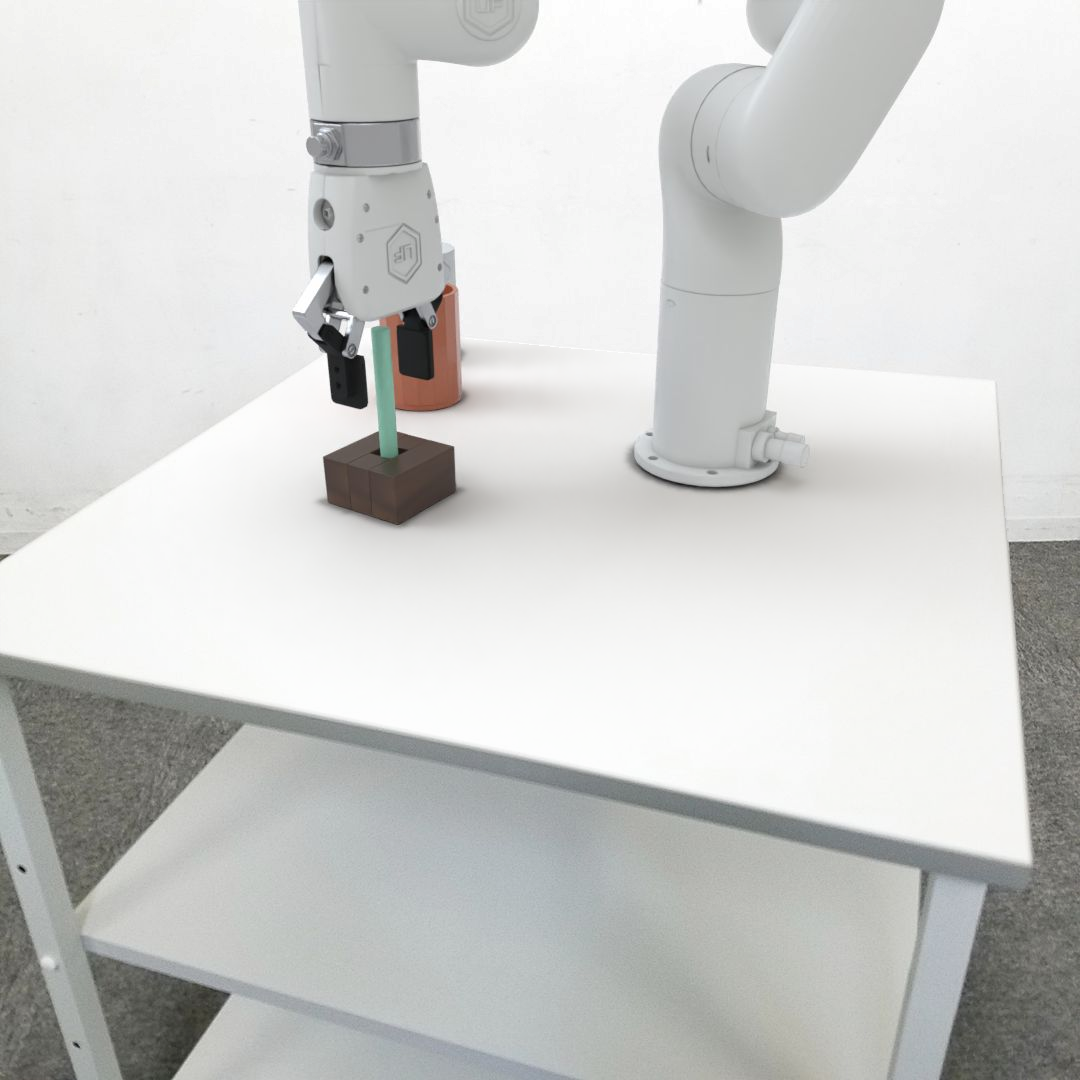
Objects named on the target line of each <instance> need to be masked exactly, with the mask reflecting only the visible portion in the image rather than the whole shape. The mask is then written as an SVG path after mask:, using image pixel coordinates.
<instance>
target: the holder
mask: <svg viewBox="0 0 1080 1080" xmlns="http://www.w3.org/2000/svg"><path fill="white" fill-rule="evenodd" d="M397 442H398V456H396V457H394V458H392V459H389V458H385V457H382V456H381V453H380V440H379V430H378V431H375V432H373V433H371V434H369V435H366V436H364V437H362V438H360V439H357V440H355V441H353V442H352V443H349V444H347V445H345V446H343V447H340V448H339V449H336V450H334V451H332V452H330V453H327V454H326V455H323V456H322V463H323V473H324V480H325V482H324V483H325V490H326V501H327V503H329V504H332V505H335V506H339V507H342V508H345V509H348V510H351V511H354V512H357V513H360V514H363V515H366V516H370V517H373V518H376V519H379V520H381V521H385V522H388V523H391V524H395V525H400V524H402V523H403V522H405V521H407V520H410V518H412V517H414V516H415V515H417V514H419V513H421V512H423V511H424V510H426V509H427V508H429V507H431V506H433V505H435V504H436V503H438V502H440V501H442V500H443V499H445V498H447V497H448V496H450V495H452V494H454V493H456V492H457V479H456V477H457V476H456V458H455V456H456V455H455V454H456V453H455V446H454V445H452V444H451V445H450V444H447V443H443V442H439V441H435V440H431V439H426V438H423V437H419V436H417V435H416V436H415V435H412V434H408V433H405V432H402V431H401V432H400V431H397Z"/></svg>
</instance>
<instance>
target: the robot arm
mask: <svg viewBox="0 0 1080 1080" xmlns="http://www.w3.org/2000/svg"><path fill="white" fill-rule="evenodd" d="M297 4H298V17H299V26H300V35H301V46H302V57H303V66H304V78H305V88H306V89H305V90H306V99H307V104H308V108H307V109H308V118H309V129H310V130H309V131H310V136H308V137H307V139H306V142H305V147H306V151H307V153H308V154H309V155H310V156H311V157H312V161H313V163H312V164H313V170H312V171H310V173H309V175H310V176H309V186H308V199H307V200H308V201H307V247H308V248H307V249H308V265H309V267H308V268H309V277H310V279H309V282H308V283H307V285H306V287H305V289H304V290H303V292H302V294H301V295H300V297H299V298H298V300H297V301H296V303H295V305H294V306H293V309H292V312H291V313H292V317H293V319H294V320H295V321H296V322H297V323H298V324H299V326H300V327H301V328H302V329H303V330H304V331H305V332H306V333H307V336H308V338H310V339H311V340H312V341H313V342H314V343H315V344H316V345H317V347H318V350H319V351H320V352H321V353H324V354H326V359H327V370H328V379H329V380H328V381H329V390H330V398H331V399H330V400H331V401H332V402H333V403H334V404H337V405H340V406H345V407H349V408H353V409H356V410H363V409H365V408H367V407H368V406H369V393H368V383H367V382H368V380H367V370H366V369H367V367H366V359H365V356H364V355H360V354H359V353H358V352H359V350H360V349H359V348H360V345H361V340H362V337H363V332H364V329H365V325H366V323H367V322H368V323H369V322H375V321H379V319H383V318H386V317H389V316H392V315H395V314H399V316H400V318H401V320H402V322H403V323H404V325H402V324H400V325H397V331H396V332H397V348H398V363H399V372H400V373H401V374H402V375H405V376H409V377H414V378H418V379H422V380H427V381H428V380H430V379H433V378H434V355H433V334H432V330H430V329H433V328H435V327H436V325H437V316H436V312H437V310H438V308H439V306H440V304H441V302H442V299H443V293H442V291H444V289H445V286H446V284H447V281H448V279H449V276H450V273H451V270H450V267H449V266H448V265H447V264H446V263H445V262H444V261H443V252H442V242H443V241H442V234H441V226H440V218H439V217H440V216H439V210H438V204H437V198H436V197H437V196H436V193H435V187H434V183H433V179H432V175H431V170H430V168H429V165H428V163H427V162H424V161H423V160H422V159H423V156H422V154H423V153H422V137H421V135H422V134H421V118H420V117H421V111H420V109H421V108H420V93H419V92H420V91H419V90H420V89H419V72H418V71H419V70H418V61H430V62H439V63H447V64H454V65H459V66H460V65H461V66H466V67H467V66H468V67H473V68H477V67H478V68H480V67H481V68H484V67H490V66H491V67H492V66H495V65H497V64H500V63H503V62H505V61H508V60H509V59H511V58H512V57H513V56H515V55H516V54H518V53H519V52H520V50H522V49H523V48H524V46H525V45H526V44H527V43H528V41H529V40H530V38H531V36H532V35H533V33H534V31H535V28H536V26H537V22H538V18H539V12H540V0H297ZM944 5H945V0H746V7H745V11H746V13H745V14H746V20H747V21H746V22H747V26H748V29H749V32H750V35H751V36H752V38H753V39H754V41H755V43H756V44H758V46H759V47H760V48H761V49H762V50H763V51H765V52H766V53H768V54H769V55H770V56H771V58H770V59H769V61H768V63H767V65H765V66H764V65H756V64H746V63H739V62H737V63H736V62H730V63H719V64H714V65H710V66H709V67H706V68H705V67H704V68H703V69H701V70H698V71H697V72H695V73H693V74H692V75H690V76H689V77H688V78H687V79H686V80H684V81H683V82H682V83H681V84H680V85H679V86H678V87H677V89H676V90H675V91H674V93H673V95H672V96H671V98H670V99H669V101H668V103H667V105H666V107H665V110H664V112H663V115H662V118H661V123H660V127H659V134H658V169H659V178H660V179H659V180H660V189H661V202H662V203H661V205H662V252H661V253H662V257H661V258H662V259H661V275H660V276H661V277H660V287H659V305H658V325H657V344H656V362H655V364H656V365H655V379H654V380H655V381H654V401H653V417H652V418H653V419H652V428H650V429H648V430H646V431H645V432H643V433H642V434H640V435H639V436H638V437H637V438H636V439H635V441H634V446H633V457H634V460H635V461H636V464H638V465H639V466H640V467H641V468H642V469H643V470H645V471H646V472H648V473H649V474H651V475H654V476H655V477H658V478H660V479H662V480H666V481H670V482H672V483H678V484H682V485H687V486H694V487H695V486H696V487H710V488H721V487H738V486H743V485H744V486H745V485H749V484H751V483H756V482H759V481H762V480H764V479H765V478H767V477H769V476H771V475H772V474H773V473H775V471H777V469H778V467H779V464H780V462H781V463H782V464H785V465H789V466H794V467H797V468H804V467H805V466H806V464H807V462H808V460H809V456H810V445H809V444H806V435H804V434H798V433H794V432H785V431H781V430H780V427H778V426H776V422H777V415H778V412H777V411H774V410H768V409H767V403H768V395H769V384H770V376H771V366H772V357H773V347H774V339H775V328H776V320H777V309H778V299H779V289H780V285H781V278H782V269H783V255H784V253H783V251H784V241H783V240H784V239H783V223H782V219H787V218H795V217H798V216H801V215H805V214H807V213H809V212H810V211H813V210H814V209H816V208H817V207H820V205H822V204H824V202H826V201H827V200H828V199H829V198H830V197H831V196H832V195H833V194H834V193H836V191H837V190H838V189H839V188H840V186H841V185H842V184H843V183H844V182H845V180H846V179H847V178H848V176H849V175H850V174H851V172H852V171H853V169H854V168H855V166H856V165H857V164H858V162H859V160H860V159H861V157H862V155H863V154H864V152H865V151H866V149H867V148H868V146H869V144H870V143H871V141H872V139H873V138H874V136H875V135H876V133H877V132H878V130H879V129H880V127H881V125H882V123H883V122H884V121H885V119H886V117H887V115H888V114H889V112H890V110H891V109H892V107H893V106H894V104H895V102H896V101H897V99H898V98H899V96H900V94H901V93H902V91H903V89H904V88H905V87H906V84H907V83H908V82H909V79H911V76H912V75H913V73H914V72H915V70H916V68H917V67H918V65H919V63H920V62H921V60H922V58H923V56H924V54H925V53H926V51H927V49H928V47H929V46H930V43H931V42H932V40H933V38H934V35H935V33H936V31H937V28H938V26H939V23H940V20H941V17H942V13H943V9H944ZM324 314H325V316H324ZM342 322H347V324H346V329H345V332H344V335H343V334H342V332H340V329H341V325H342Z"/></svg>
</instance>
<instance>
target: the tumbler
mask: <svg viewBox="0 0 1080 1080" xmlns="http://www.w3.org/2000/svg"><path fill="white" fill-rule="evenodd" d="M442 293H443V299H442V302H441V304H440V306H439V308H438V310H437V312H436V316H437V325H436V327H435V328H433V329H430V330H432V334H433V355H434V378H433V379H430V380H428V381H427V380H422V379H418V378H414V377H409V376H405V375H402V374H401V373H400V372H399V363H398V348H397V332H396V331H397V325H400V324H402V325H404V323H403V322H402V320H401V318H400V316H399V314H395V315H392V316H389V317H386V318H383V319H379V320H378V326H387V327H389V328H390V341H391V355H392V370H393V384H394V399H395V409H399V410H404V411H411V412H413V411H415V412H427V411H434V410H436V411H437V410H440V409H442V410H443V409H445V408H449V407H451V406H455V404H458V403H459V402H460V401H461V400H462V396H463V394H462V393H463V379H462V378H463V376H462V352H461V351H462V350H461V349H462V348H461V326H460V324H461V323H460V322H461V321H460V297H459V288H458V286H457V285H456V286H455V285H452V284H450V283H447V284H446V286H445V289H444V291H442Z"/></svg>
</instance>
